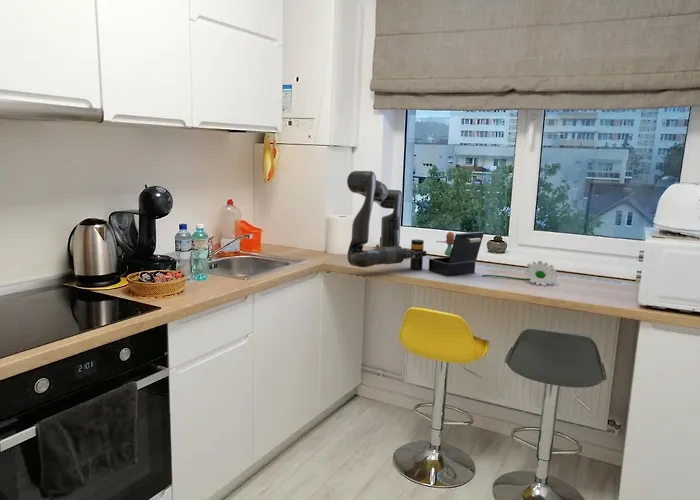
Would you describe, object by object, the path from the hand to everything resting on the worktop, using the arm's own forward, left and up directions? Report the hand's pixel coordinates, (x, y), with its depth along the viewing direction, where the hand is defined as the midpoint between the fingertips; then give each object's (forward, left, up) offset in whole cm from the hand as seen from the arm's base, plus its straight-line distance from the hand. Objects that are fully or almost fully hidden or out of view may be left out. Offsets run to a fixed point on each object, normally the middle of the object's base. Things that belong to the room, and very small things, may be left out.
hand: (421, 252), depth 240 cm
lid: (+19, +8, +5) cm, 21 cm away
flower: (+35, +24, -8) cm, 43 cm away
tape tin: (0, -3, -8) cm, 8 cm away
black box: (+11, +8, -8) cm, 16 cm away
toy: (-4, +20, -8) cm, 22 cm away
